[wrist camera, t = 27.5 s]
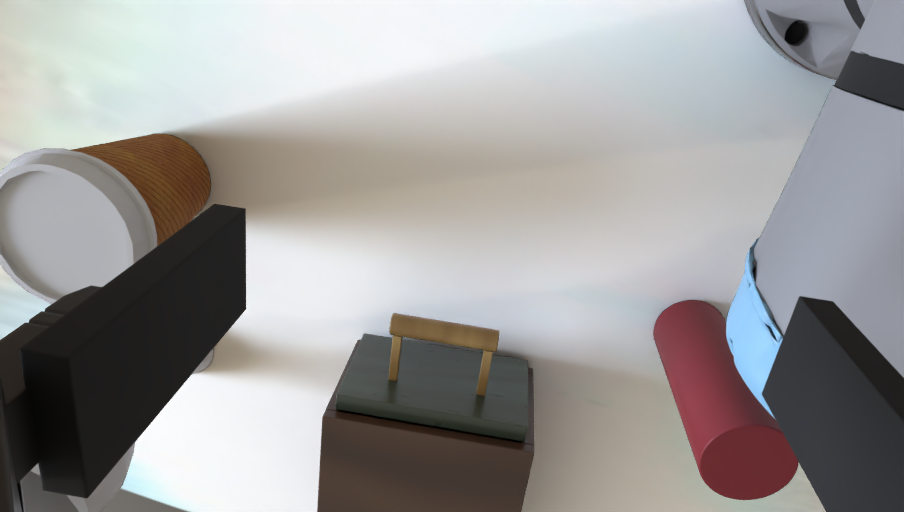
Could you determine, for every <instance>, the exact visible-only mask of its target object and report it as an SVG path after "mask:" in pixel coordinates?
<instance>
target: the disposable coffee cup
mask: <svg viewBox="0 0 904 512" xmlns="http://www.w3.org/2000/svg"><path fill="white" fill-rule="evenodd" d="M210 189H211V181H210V176H209V172H208V169H207V166H206V164H205V163H204V161H203V159H202V158H201V156H200V155H199V154H198V152H197V151H196V150H195V149H194V148H193V147H191V146H190V145H189V144H188V143H186V142H185V141H183V140H181V139H179V138H177V137H175V136H172V135H167V134H151V135H147V136H142V137H136V138H131V139H126V140H120V141H115V142H110V143H105V144H99V145H94V146H89V147H84V148H78V149H73V150H67V149H46V148H44V149H39V150H35V151H31V152H27V153H24V154H23V155H21V156H19V157H17V158H15V159H14V160H12V161H11V162H10V163H9V164H8V165H7V166H6V167H5V168H4V169H3V170H2V172H1V174H0V265H1V266H2V268H3V269H4V270H5V272H6V273H7V274H8V275H9V276H10V277H11V278H12V279H13V280H14V281H15V282H16V283H17V284H19V285H20V286H21V287H22V288H24V289H25V290H26V291H27V292H29V293H31V294H33V295H35V296H37V297H38V298H40V299H42V300H44V301H46V302H48V303H50V304H53V303H54V302H56V301H57V300H59V299H60V298H61V297H63V296H64V295H67V294H69V293H72V292H75V291H77V290H80V289H83V288H85V287H88V286H91V285H92V286H98V287H103V286H104V285H106V284H107V283H108V282H110V281H111V280H113V279H114V278H115V277H117V276H118V275H119V274H121V273H122V272H123V271H125V270H126V269H127V268H129V267H130V266H131V265H133V264H134V263H135V262H137V261H138V260H139V259H141V258H142V257H144V256H145V255H146V254H148V253H149V252H150V251H152V250H153V249H154V248H156V247H157V246H158V245H160V244H161V243H162V242H164V241H165V240H166V239H168V238H169V237H171V236H172V235H173V234H175V233H176V232H177V231H179V230H180V229H181V228H183V227H184V226H185V225H187V224H188V223H189V222H191V220H192V219H193V218H194V217H195V216H196V214H197V213H198V212H199V211H200V210H201V209H202V208H203V207H204V205H205V204H206V202H207V200H208V197H209V194H210Z"/></svg>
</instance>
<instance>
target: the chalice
mask: <svg viewBox="0 0 904 512" xmlns="http://www.w3.org/2000/svg"><path fill="white" fill-rule="evenodd" d="M213 352H214V349H212V350H211V351H210V353H209V354H208V355H207V356H206V357H205V359H204V360H203V361H202V362H201V363H200V365H199V366H198V367H197V368H196V369H195V371H194V372H193V373H192V374H194V373H197V372H199V371H202V370H204V369H205V368H207V367H208V366H209V365H210V363H211V361H212V359H213ZM134 445H135V442H134V444H133V445H132V446H131V447H130V448H129V450H128V451H127V452H126V453H125V454H124V456H123V457H122V458H121V459H120V460H119V462H118V463H117V464H116V465H115V466H114V468H113V469H112V470H111V471H110V472H109V474H108V475H107V476H106V477H105V478H104V479H103V481H102V482H101V483H100V484H99V485H98V487H97V488H96V489H95V490H94V491H93V493H92V494H91V495H90V496H89V497H88V499H87V498H81V497H76V496H70V495H65V494H59V493H53V492H48V491H43V488H42V482H41V476H40V471H39V465H38V464H37V465H36V466H35V467H34V468H33V469H32V470H31V471H30V472H29V473H28V474H27V475H26V476H25V477H24V478H23V479H22V480H21V486H22V491H23V497H24V505H25V512H102V510H103V509H104V508H105V507H106V505H107V504H108V503H109V501H110V500H111V499H112V498H113V497H114V495H115V494H116V493H117V491H118V490H119V489H120V488H121V486H122V485H123V482H124V480H125V477H126V475H127V472H128V468H129V465H130V462H131V459H132V456H133V453H134Z"/></svg>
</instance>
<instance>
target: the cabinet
mask: <svg viewBox="0 0 904 512" xmlns="http://www.w3.org/2000/svg"><path fill="white" fill-rule="evenodd" d="M360 341H361V340H358V341H357V343H356V345H355V347H354V349H353V352H352V354H351V356H350V358H349V360H348V362H347V365H346V367H345V369H344V371H343V373H342V375H341V378H340V380H339V382H338V384H337V386H336V388H335V391H334V393H333V395H332V397H331V399H330V401H329V404H328V406H327V408H326V411H325V413H324V415H323V418H322V436H321V454H320V472H319V491H318V509H317V512H521V509H522V505H523V500H524V496H525V491H526V487H527V483H528V478H529V474H530V469H531V465H532V460H533V456H534V399H533V369H531V368H528V429H527V434H526V439H525V441H518V440H513V439H511V441H507V440H501V439H495V438H489V437H483V436H477V435H472V434H466V433H460V432H454V431H448V430H442V429H437V428H431V427H425V426H419V425H413V424H407V423H402V422H396V421H390V420H384V419H378V418H372V417H367V416H361V415H355V414H350V413H351V412H349V411H344V410H338V409H336V394H337V392H338V390H339V388H340V386H341V383H342V381H343V379H344V377H345V375H346V372H347V370H348V368H349V366H350V364H351V361H352V359H353V357H354V355H355V352H356V350H357V348H358V346H359V344H360Z"/></svg>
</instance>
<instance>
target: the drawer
mask: <svg viewBox="0 0 904 512" xmlns="http://www.w3.org/2000/svg"><path fill="white" fill-rule="evenodd" d="M389 332H390V334H391V335H393V338H389V337H383V336H377V335H371V334H364V335H363V337H362V339H361V341H360V344H359V346H358V348H357V350H356V352H355V355H354V357H353V359H352V361H351V364H350V366H349V368H348V370H347V372H346V375H345V377H344V379H343V381H342V383H341V386H340V388H339V390H338V392H337V394H336V409H338V410H344V411H349V412H351V413H350V414H355V415H361V416H367V417H372V418H378V419H384V420H390V421H396V422H402V423H407V424H413V425H419V426H425V427H431V428H437V429H442V430H448V431H454V432H460V433H466V434H472V435H477V436H483V437H489V438H495V439H501V440H507V441H511V439H513V440H518V441H525V439H526V434H527V429H528V361H527V360H521V359H515V358H509V357H503V356H497V355H493V351H494V352H496V351H497V346H498V340H499V330H494V329H488V328H482V327H476V326H470V325H464V324H458V323H452V322H445V321H439V320H433V319H427V318H421V317H415V316H409V315H403V314H397V313H393V315H392V318H391V322H390V330H389ZM403 337H409V338H415V339H421V340H427V341H433V342H439V343H445V344H451V345H457V346H463V347H469V348H475V349H482V350H484V351H483V353H479V352H473V351H467V350H461V349H455V348H449V347H443V346H437V345H431V344H425V343H419V342H413V341H407V340H402V339H403Z"/></svg>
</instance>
